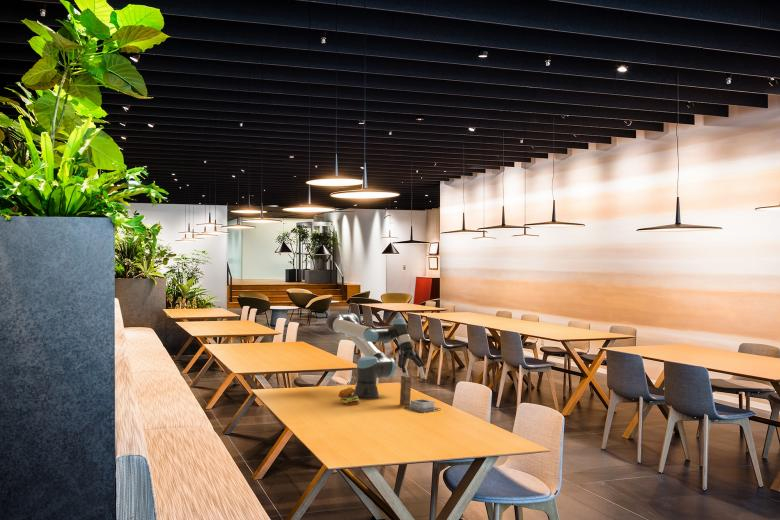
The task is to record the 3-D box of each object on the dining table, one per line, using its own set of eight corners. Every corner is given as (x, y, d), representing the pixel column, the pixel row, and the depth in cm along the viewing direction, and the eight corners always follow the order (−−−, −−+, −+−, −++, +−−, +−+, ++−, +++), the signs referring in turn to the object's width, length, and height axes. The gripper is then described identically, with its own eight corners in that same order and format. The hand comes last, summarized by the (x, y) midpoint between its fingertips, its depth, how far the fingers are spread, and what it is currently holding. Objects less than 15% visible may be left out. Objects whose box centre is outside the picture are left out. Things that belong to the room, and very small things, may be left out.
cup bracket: (404, 408, 362) (404, 400, 362) (421, 405, 372) (421, 397, 372) (423, 413, 352) (423, 404, 352) (440, 410, 362) (440, 401, 362)
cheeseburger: (359, 405, 363) (355, 387, 363) (340, 409, 363) (336, 391, 363) (360, 402, 373) (357, 384, 373) (341, 405, 373) (338, 388, 374)
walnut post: (399, 404, 372) (401, 375, 373) (404, 403, 375) (406, 375, 376) (405, 405, 369) (406, 376, 370) (409, 405, 372) (411, 376, 373)
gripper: (394, 340, 378) (404, 376, 370) (423, 341, 396) (434, 375, 387) (385, 345, 382) (395, 380, 374) (415, 346, 400) (425, 379, 392)
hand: (415, 378), depth 381 cm, fingers open, 13 cm apart
